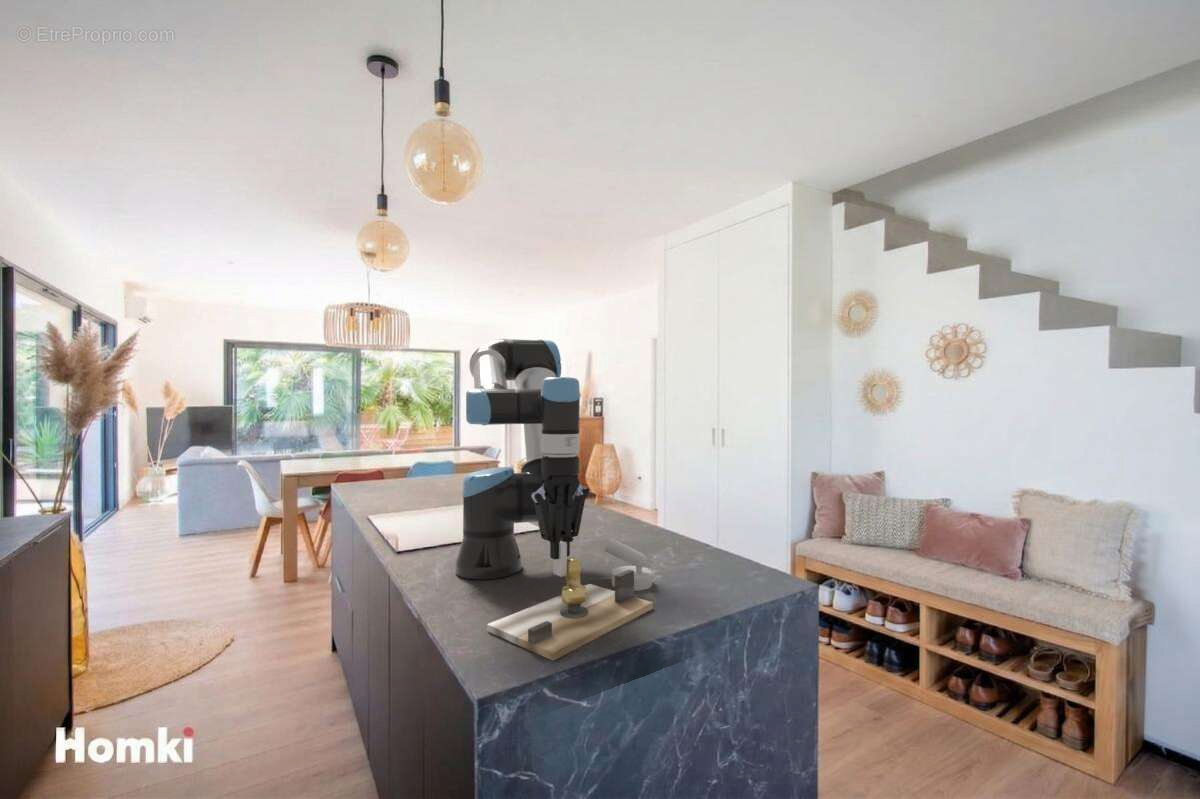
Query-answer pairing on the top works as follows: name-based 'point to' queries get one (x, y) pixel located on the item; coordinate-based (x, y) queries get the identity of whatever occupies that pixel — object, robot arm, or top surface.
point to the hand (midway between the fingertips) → (559, 574)
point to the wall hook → (633, 557)
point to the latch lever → (573, 583)
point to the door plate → (572, 619)
